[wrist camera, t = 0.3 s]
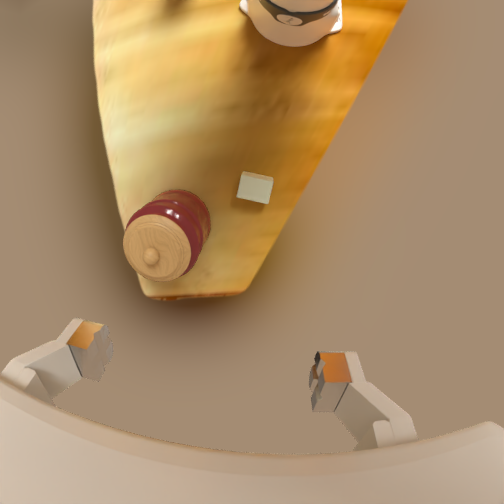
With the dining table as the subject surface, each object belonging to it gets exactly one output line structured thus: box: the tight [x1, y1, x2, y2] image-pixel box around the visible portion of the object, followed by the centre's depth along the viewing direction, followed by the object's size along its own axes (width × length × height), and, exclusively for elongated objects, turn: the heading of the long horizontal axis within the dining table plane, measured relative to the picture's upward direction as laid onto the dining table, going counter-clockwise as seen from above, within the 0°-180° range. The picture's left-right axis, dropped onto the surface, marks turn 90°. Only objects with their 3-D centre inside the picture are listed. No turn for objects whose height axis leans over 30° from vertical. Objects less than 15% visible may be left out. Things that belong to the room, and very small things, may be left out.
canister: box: [123, 190, 211, 282], centre depth 48 cm, size 13×13×18 cm
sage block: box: [237, 171, 274, 204], centre depth 50 cm, size 4×6×4 cm
